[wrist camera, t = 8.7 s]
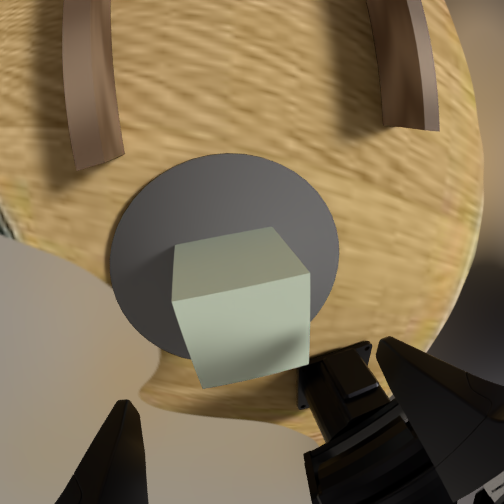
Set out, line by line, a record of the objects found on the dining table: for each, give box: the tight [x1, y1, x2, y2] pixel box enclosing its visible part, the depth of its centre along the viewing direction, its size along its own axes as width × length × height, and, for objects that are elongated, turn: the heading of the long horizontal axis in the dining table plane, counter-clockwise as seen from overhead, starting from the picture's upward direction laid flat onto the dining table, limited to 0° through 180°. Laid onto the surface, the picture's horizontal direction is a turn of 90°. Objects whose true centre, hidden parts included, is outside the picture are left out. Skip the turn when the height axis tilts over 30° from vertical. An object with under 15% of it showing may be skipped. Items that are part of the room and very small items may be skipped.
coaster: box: [110, 153, 339, 359], centre depth 15 cm, size 13×13×1 cm
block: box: [172, 227, 310, 389], centre depth 13 cm, size 5×5×5 cm
